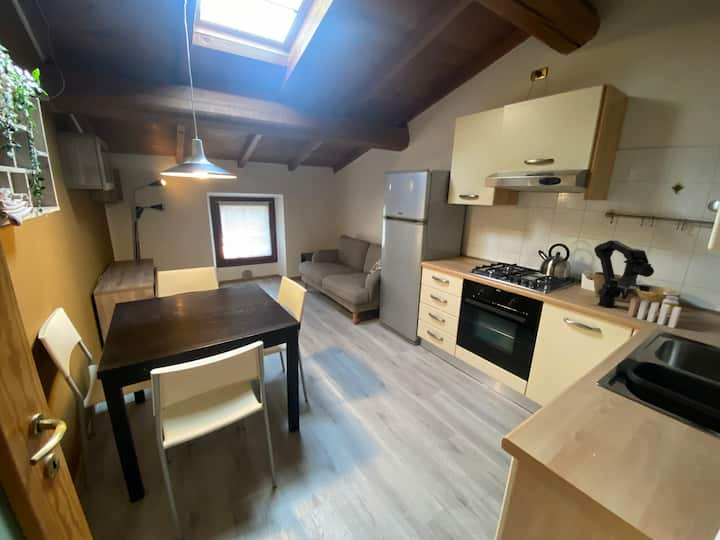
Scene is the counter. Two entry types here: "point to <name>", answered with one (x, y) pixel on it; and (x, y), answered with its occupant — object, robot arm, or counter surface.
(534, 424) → the counter surface
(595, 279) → the plant pot
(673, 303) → the pill bottle
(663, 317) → the ivory domino
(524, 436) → the counter surface
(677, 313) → the ivory domino
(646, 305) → the ivory domino
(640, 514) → the counter surface
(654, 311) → the ivory domino
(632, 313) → the terracotta domino
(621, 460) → the counter surface
